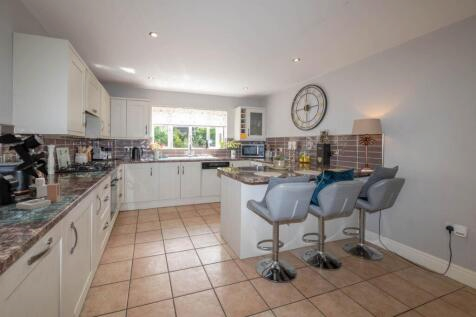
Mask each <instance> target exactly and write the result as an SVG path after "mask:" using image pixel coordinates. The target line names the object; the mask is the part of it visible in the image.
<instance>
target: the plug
mask: <svg viewBox="0 0 476 317" xmlns="http://www.w3.org/2000/svg"><path fill="white" fill-rule="evenodd" d="M46 185H47V196H46V200H51V203H57V202H59V201H61V188H60V187H61V186H60V185H61V184H60V182H59V183H58V182H57V183H49V184H46Z"/></svg>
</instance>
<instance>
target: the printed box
mask: <svg viewBox="0 0 476 317" xmlns="http://www.w3.org/2000/svg"><path fill="white" fill-rule="evenodd" d="M47 185H48V184H46V179H45V177H39V178H35V177H33V178H32V179H31V185H28V197H29V198H32V199H41V198H44V197H47Z"/></svg>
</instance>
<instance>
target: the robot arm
mask: <svg viewBox="0 0 476 317" xmlns="http://www.w3.org/2000/svg"><path fill="white" fill-rule="evenodd" d="M0 145H9V148H8V151H9V152H10V151H11V152H13V151H14V152H15V153H16V154H17V156H18V160H21V161H22V162H21V163H20V164H17V165H16V169H17V170H18V171H20V172H23V173H25V174H27V175H29V176H32V177H33V178H40V176H39V174H38V172H41V174H43V175H45V176H46V177H48V176H49V172H48V169H47V168H48V167H47V166H48V164H49V160H48V158H49V153H48V151H45V150H44V151H40V152H39V153H36V152H32V151H31V150H35V149H37V148H39V147H41V146H43V145H45V142H44V140H43V139H42V138H40V137H39V136H38V135H37V134H32V135H30V136H29V137H23V136H22V135H20V134H19V133H5V134H2V135H1V134H0ZM36 170H38V172H37V171H36ZM19 187H20V181H19V180H18V178H17V177H14V176H13V175H12V174H8V175H3V174H2V173H0V206H8V205H12V204H14V203H17V202H18V201H17V200H16V194H15V192H16V191H17V188H19Z"/></svg>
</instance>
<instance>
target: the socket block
mask: <svg viewBox="0 0 476 317" xmlns="http://www.w3.org/2000/svg"><path fill="white" fill-rule="evenodd" d="M15 205H16V206H15V207H16V209H17V210H18V209H20V210H30V211H32V210H35V209H36V210H37V209H39V208H42V207H43V208H44V207H47V206H51V205H52V202H51V200H47V199H42V198H33V199H32V200H27V201H22V202H18V203H17V202H16V204H15Z"/></svg>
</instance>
